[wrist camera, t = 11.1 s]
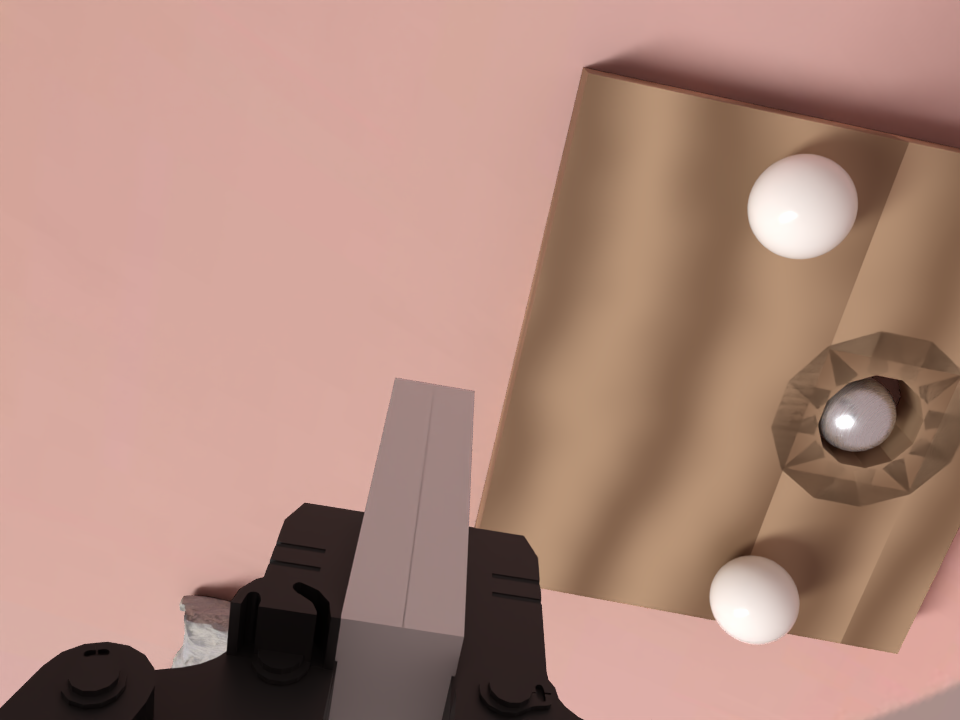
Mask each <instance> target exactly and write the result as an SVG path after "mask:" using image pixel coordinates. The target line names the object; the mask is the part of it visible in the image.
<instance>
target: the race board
mask: <svg viewBox="0 0 960 720" xmlns="http://www.w3.org/2000/svg"><path fill="white" fill-rule="evenodd" d="M797 154H815V155H820V156H823V157H826V158H828V159H831V160H833V161H834V162H836V163H837V164H839V165H840V166H841V167H842V168H843V169H844V170H845V171H846V172H847V173H848V174H849V176H850V178H851V179H852V181H853V183H854V185H855V188H856V191H857V197H858V211H857V216H856V219H855V222H854V225H853V227H852V229H851V230H850V232H849V234H848V235H847V236H846V238H845V239H844V240H843V241H842V242H841V243H840V244H839V245H838V246H836V247H835V248H834V249H832V250H831V251H829V252H827V253H825V254H823V255H820V256H818V257H814V258H809V259H790V258H786V257H782V256H779V255H777V254H774V253H773V252H771V251H770V250H768V249H767V248H765V247H764V246H763V245H762V244H761V243H760V242H759V241H758V239H757V238H756V236H755V235H754V233H753V231H752V229H751V227H750V224H749V220H748V213H747V206H748V199H749V195H750V192H751V190H752V187H753V185H754V183H755V182H756V180H757V179H758V177H759V176H760V175H761V174H762V173H763V172H764V171H765V170H766V169H767V168H768V167H769V166H770V165H772V164H773V163H775V162H777V161H778V160H780V159H783V158H785V157H788V156H792V155H797ZM875 375H878V376H883V377H888V378H893V379H898V381H899V387H900V393H901V398H900V400H899V403H898V405H897V407H896V422H895V425H894V428H893V430H892V432H891V434H890V435H889V436H888V438H887V439H886V440H885V441H883V442H882V443H881V444H880V445H878V446H876V447H874V448H872V449H869V450H865V451H846V450H842V449H840V448H837V447H835V446H833V445H832V444H830V443H829V442H828V441H826V440H825V439H824V438H822V437H821V436H820V433H819V428H818V423H819V421H820V418H821V416H822V413H823V410H824V408H825V405H826V403H827V401H828V400H829V399H830V398H831V397H833V396H834V395H835V394H836V393H837V392H838V391H840V390H841V389H842V388H843V387H844V386H845V385H847V384H848V383H850V382H853V381H857V380H861V379H864V378H868V377H871V376H875ZM959 527H960V149H959V148H955V147H950V146H945V145H941V144H936V143H932V142H927V141H922V140H918V139H913V138H908V137H904V136H899V135H894V134H890V133H885V132H881V131H876V130H871V129H867V128H862V127H857V126H853V125H848V124H843V123H839V122H834V121H830V120H825V119H820V118H816V117H811V116H806V115H802V114H797V113H792V112H788V111H783V110H779V109H774V108H769V107H765V106H760V105H755V104H751V103H746V102H741V101H737V100H732V99H728V98H723V97H718V96H714V95H709V94H704V93H700V92H695V91H690V90H686V89H681V88H677V87H672V86H667V85H663V84H658V83H653V82H649V81H644V80H639V79H635V78H630V77H626V76H621V75H616V74H612V73H607V72H602V71H598V70H593V69H588V68H584V67H583V70H582V75H581V79H580V83H579V87H578V91H577V96H576V100H575V104H574V108H573V113H572V117H571V121H570V125H569V130H568V134H567V138H566V142H565V147H564V151H563V155H562V159H561V163H560V168H559V172H558V176H557V180H556V185H555V189H554V193H553V197H552V202H551V206H550V210H549V214H548V219H547V223H546V227H545V231H544V235H543V240H542V244H541V248H540V252H539V257H538V261H537V265H536V269H535V274H534V278H533V282H532V286H531V290H530V295H529V299H528V303H527V307H526V312H525V316H524V320H523V324H522V329H521V333H520V337H519V341H518V346H517V350H516V354H515V358H514V362H513V367H512V371H511V375H510V379H509V384H508V388H507V392H506V396H505V401H504V405H503V409H502V413H501V418H500V422H499V426H498V430H497V434H496V439H495V443H494V447H493V451H492V456H491V460H490V464H489V468H488V473H487V477H486V481H485V485H484V490H483V494H482V498H481V502H480V506H479V511H478V515H477V519H476V523H475V528H479V529H486V530H492V531H498V532H504V533H510V534H517V535H523V536H525V538H526V540H527V541H528V543H529V544H530V546H531V547H532V549H533V550H534V552H535V554H536V555H537V557H538V562H539V576H540V582H539V585H540V588H542V589H547V590H553V591H558V592H564V593H569V594H575V595H580V596H585V597H591V598H596V599H602V600H607V601H613V602H618V603H624V604H629V605H634V606H640V607H645V608H651V609H656V610H662V611H667V612H672V613H678V614H683V615H689V616H694V617H700V618H705V619H711V620H716V619H715V618H714V615H713V613H712V610H711V606H710V587H711V584H712V581H713V579H714V577H715V575H716V573H717V572H718V571H719V569H720V568H721V567H722V566H724V565H725V564H726V563H727V562H729V561H731V560H733V559H735V558H738V557H741V556H749V555H752V556H761V557H765V558H768V559H770V560H772V561H774V562H776V563H777V564H779V565H780V566H782V567H783V568H784V569H785V570H786V571H787V572H788V573H789V575H790V576H791V577H792V579H793V581H794V583H795V585H796V587H797V590H798V594H799V600H800V605H799V613H798V616H797V619H796V622H795V624H794V625H793V627H792V628H791V630H790V631H789V632H788V633H787V634H792V635H798V636H803V637H808V638H814V639H819V640H825V641H830V642H836V643H841V644H846V645H852V646H857V647H863V648H868V649H874V650H879V651H885V652H890V653H895V654H898V652H899V650H900V648H901V646H902V643H903V641H904V639H905V637H906V635H907V633H908V631H909V629H910V627H911V625H912V623H913V621H914V619H915V617H916V615H917V613H918V611H919V609H920V607H921V605H922V602H923V600H924V598H925V596H926V594H927V592H928V590H929V588H930V586H931V584H932V582H933V580H934V578H935V576H936V574H937V572H938V570H939V568H940V566H941V564H942V562H943V559H944V557H945V555H946V553H947V551H948V549H949V547H950V545H951V543H952V541H953V539H954V537H955V535H956V533H957V531H958V529H959Z"/></svg>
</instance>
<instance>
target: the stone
mask: <svg viewBox="0 0 960 720" xmlns="http://www.w3.org/2000/svg"><path fill="white" fill-rule="evenodd" d="M230 603H231V602H229V601H226V600H219V599H216V598H210V597H205V596H184V597H183V598H182V600H181V602H180V610H181V611H185V615H184V623H185V635H184V644H183V646H182V648H181V649H180V650H179V651H178V652H177V654H176V656H175V657H174V659H173V665H172V668H179V667H186V666H191V665H197V664H201V663H204V662H206V661H209V660H212V659H214V658H217V657H218V656H220V655H221V654H223V653H224V652H226V650H227V638H228V626H229V614H230Z"/></svg>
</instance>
